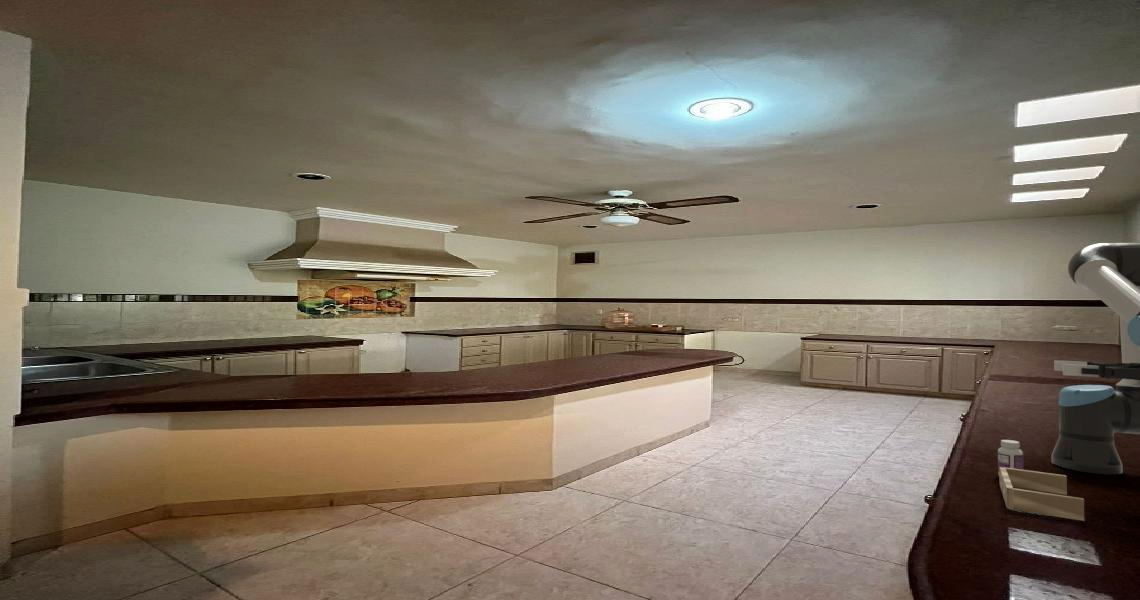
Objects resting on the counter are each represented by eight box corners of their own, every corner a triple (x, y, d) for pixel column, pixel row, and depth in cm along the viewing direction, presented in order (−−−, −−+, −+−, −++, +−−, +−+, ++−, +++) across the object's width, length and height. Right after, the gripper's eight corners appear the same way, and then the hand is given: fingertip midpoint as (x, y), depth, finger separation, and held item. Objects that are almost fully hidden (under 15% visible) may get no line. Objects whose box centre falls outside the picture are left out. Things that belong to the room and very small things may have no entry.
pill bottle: (1019, 476, 153) (1019, 440, 153) (1026, 481, 148) (1026, 444, 149) (995, 473, 156) (995, 438, 156) (1000, 478, 151) (1000, 442, 151)
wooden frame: (999, 483, 146) (999, 466, 146) (1065, 493, 139) (1065, 475, 139) (1006, 508, 128) (1006, 488, 128) (1084, 520, 120) (1084, 499, 121)
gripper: (1194, 395, 125) (1067, 387, 137) (1159, 384, 146) (1051, 377, 157) (1194, 361, 125) (1067, 355, 137) (1158, 354, 146) (1051, 350, 157)
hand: (1058, 367), depth 147 cm, fingers open, 13 cm apart
